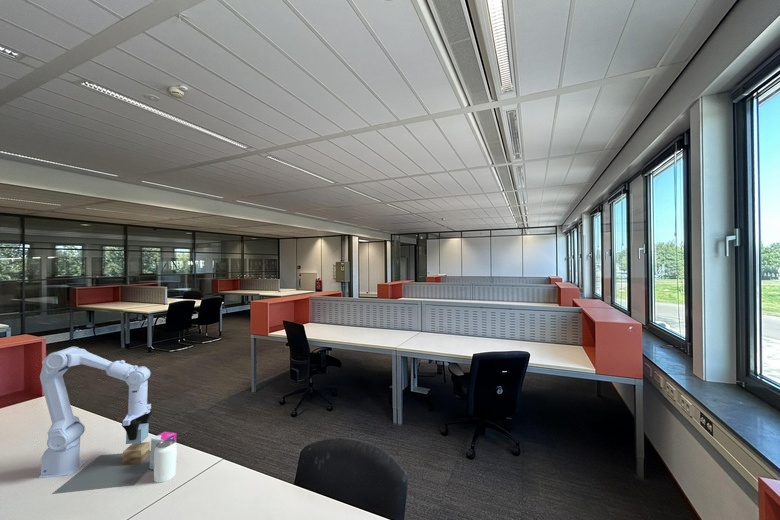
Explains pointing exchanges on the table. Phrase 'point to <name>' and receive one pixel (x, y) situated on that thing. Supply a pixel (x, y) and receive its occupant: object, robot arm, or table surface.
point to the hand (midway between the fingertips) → (137, 435)
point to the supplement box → (156, 440)
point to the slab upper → (136, 450)
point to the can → (165, 460)
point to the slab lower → (136, 459)
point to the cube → (139, 434)
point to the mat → (106, 474)
